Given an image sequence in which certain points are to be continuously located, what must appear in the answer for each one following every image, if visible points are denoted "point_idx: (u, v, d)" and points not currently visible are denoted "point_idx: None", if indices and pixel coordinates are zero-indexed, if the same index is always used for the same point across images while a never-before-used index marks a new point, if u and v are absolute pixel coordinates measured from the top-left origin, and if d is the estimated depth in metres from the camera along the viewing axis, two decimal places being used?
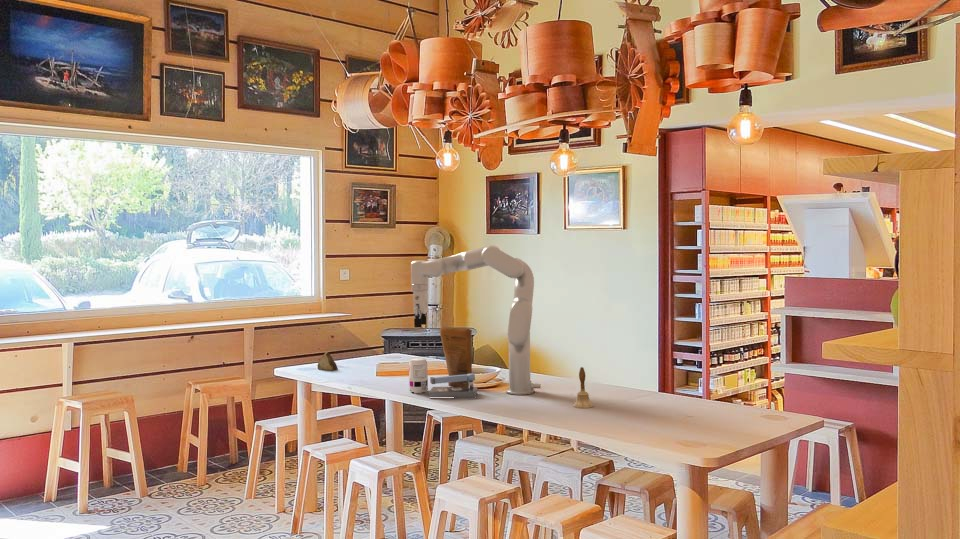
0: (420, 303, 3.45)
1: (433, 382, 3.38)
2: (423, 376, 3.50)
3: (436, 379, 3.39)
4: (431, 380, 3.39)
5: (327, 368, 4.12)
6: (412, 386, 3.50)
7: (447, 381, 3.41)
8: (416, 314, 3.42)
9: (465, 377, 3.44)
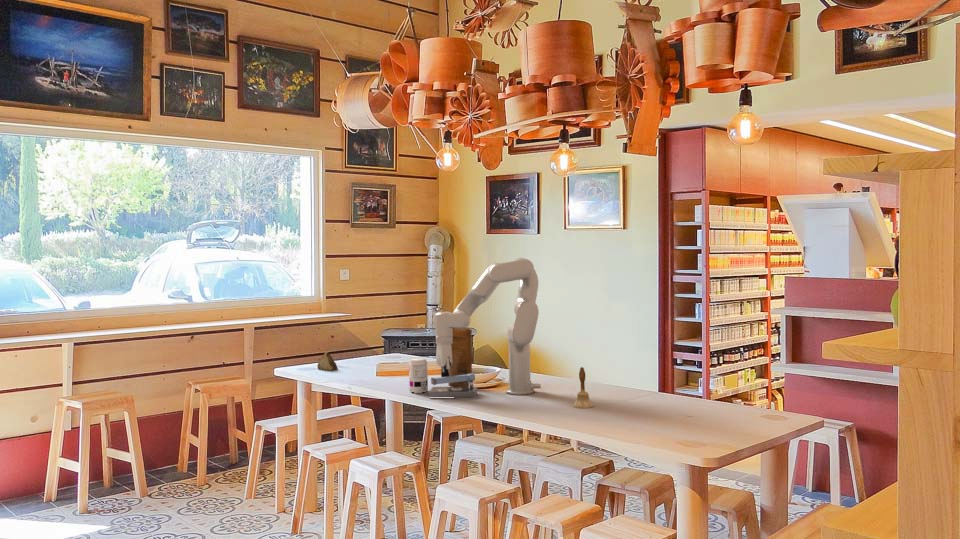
0: None
1: (434, 383, 3.37)
2: (423, 376, 3.50)
3: (437, 379, 3.38)
4: (432, 381, 3.38)
5: (327, 368, 4.12)
6: (412, 386, 3.50)
7: (448, 381, 3.40)
8: None
9: (465, 377, 3.43)
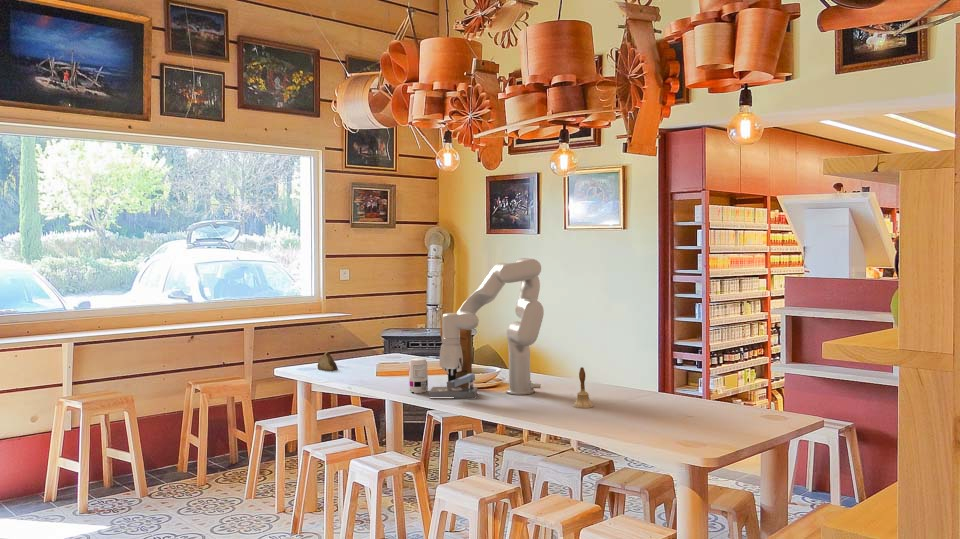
0: None
1: (453, 386, 3.29)
2: (423, 376, 3.50)
3: None
4: (450, 384, 3.29)
5: (327, 368, 4.12)
6: (412, 386, 3.50)
7: (460, 383, 3.35)
8: None
9: (469, 377, 3.42)
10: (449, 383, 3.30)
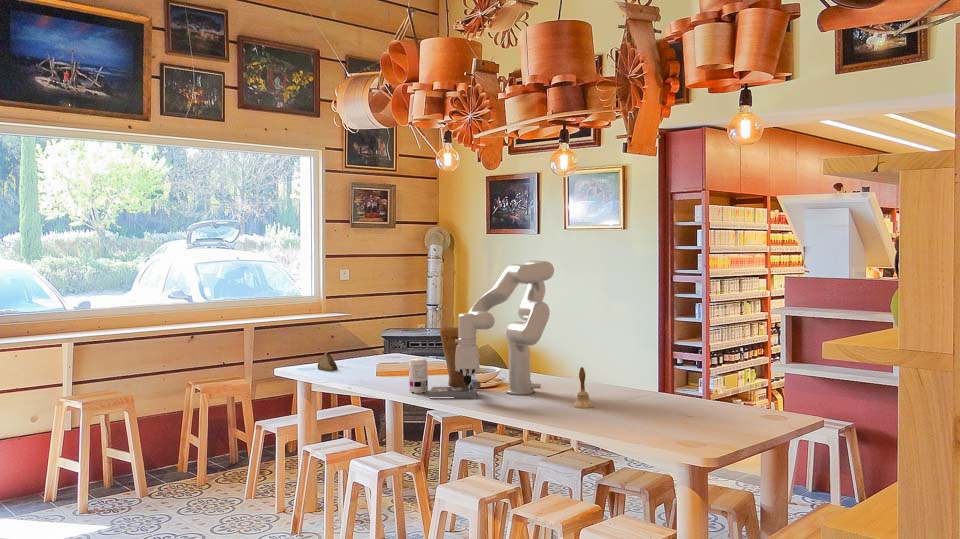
0: (455, 357, 3.32)
1: None
2: (423, 376, 3.50)
3: None
4: (477, 385, 3.28)
5: (327, 368, 4.12)
6: (412, 386, 3.50)
7: None
8: None
9: None
10: (476, 383, 3.27)
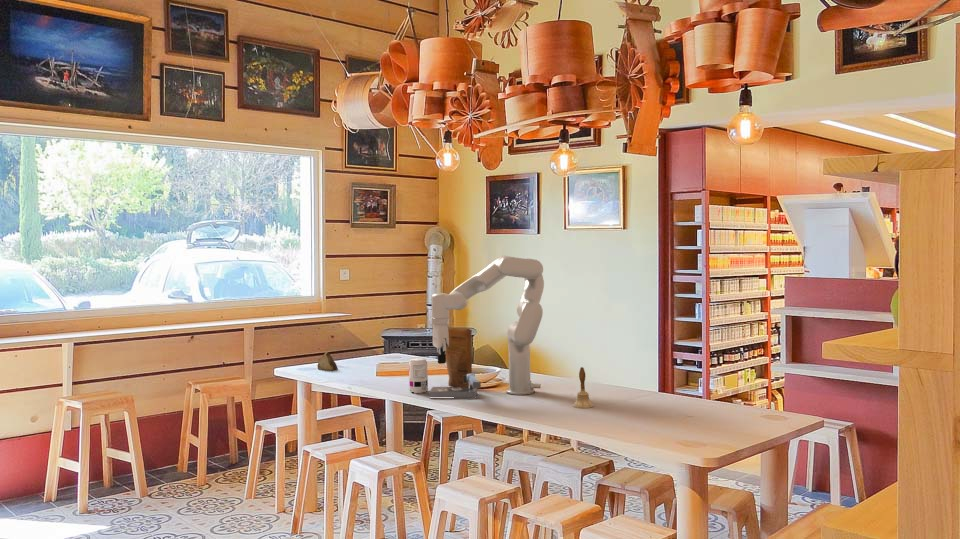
0: None
1: (480, 386, 3.28)
2: (423, 376, 3.50)
3: None
4: (477, 385, 3.28)
5: (327, 368, 4.12)
6: (412, 386, 3.50)
7: None
8: None
9: None
10: (476, 383, 3.27)
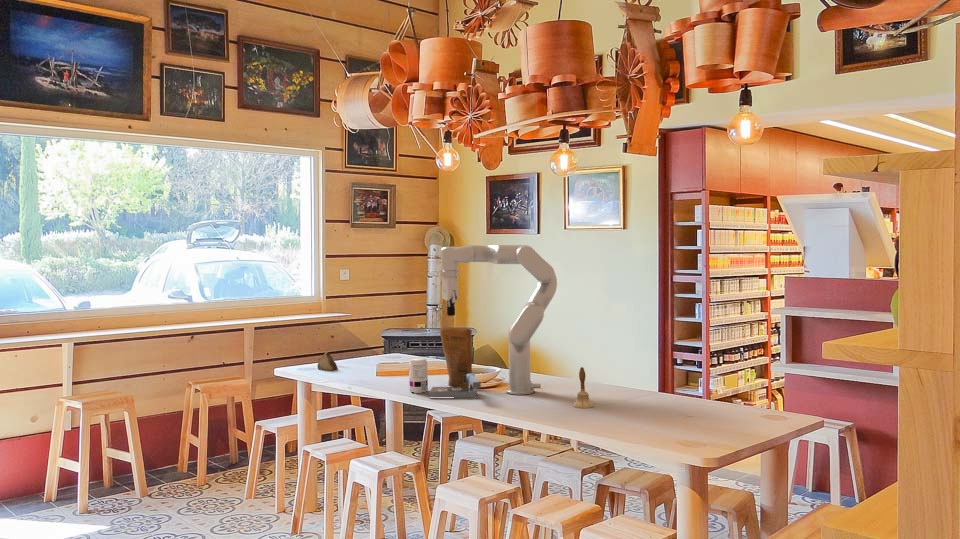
0: None
1: (480, 386, 3.28)
2: (423, 376, 3.50)
3: None
4: (477, 385, 3.28)
5: (327, 368, 4.12)
6: (412, 386, 3.50)
7: None
8: None
9: None
10: (476, 383, 3.27)
